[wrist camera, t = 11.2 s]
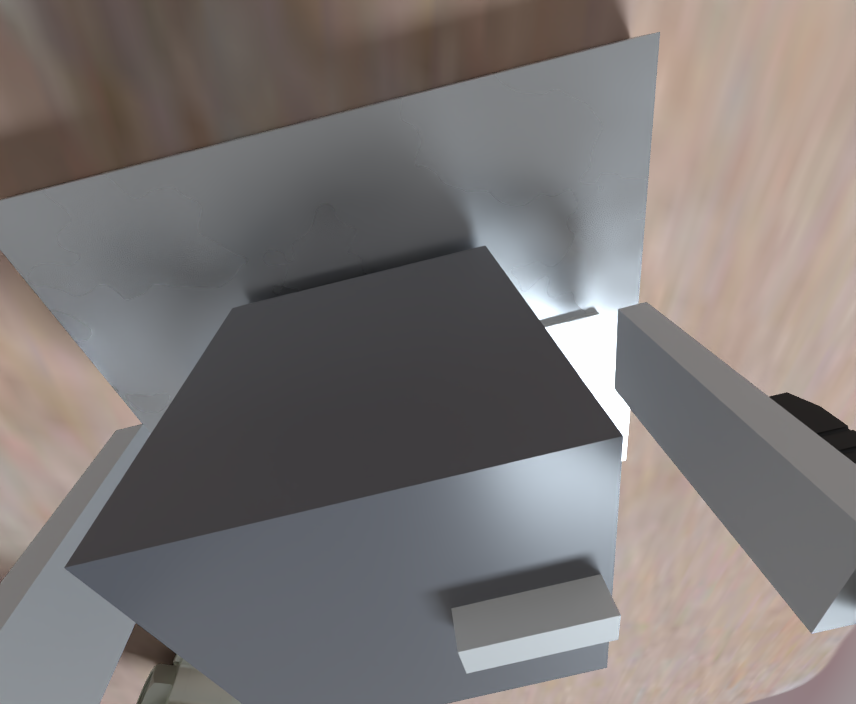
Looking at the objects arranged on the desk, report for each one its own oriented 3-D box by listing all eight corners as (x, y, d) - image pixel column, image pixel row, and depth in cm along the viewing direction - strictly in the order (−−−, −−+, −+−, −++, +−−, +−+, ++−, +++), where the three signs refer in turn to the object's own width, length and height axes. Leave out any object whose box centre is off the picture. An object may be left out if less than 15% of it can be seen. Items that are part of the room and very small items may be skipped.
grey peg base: (252, 523, 18) (190, 743, 12) (6, 197, 10) (-508, 348, 4) (611, 438, 18) (735, 620, 12) (631, 37, 10) (1024, -43, 4)
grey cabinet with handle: (322, 476, 14) (282, 779, 8) (232, 307, 11) (29, 622, 4) (511, 431, 14) (621, 704, 8) (485, 245, 11) (653, 476, 4)
